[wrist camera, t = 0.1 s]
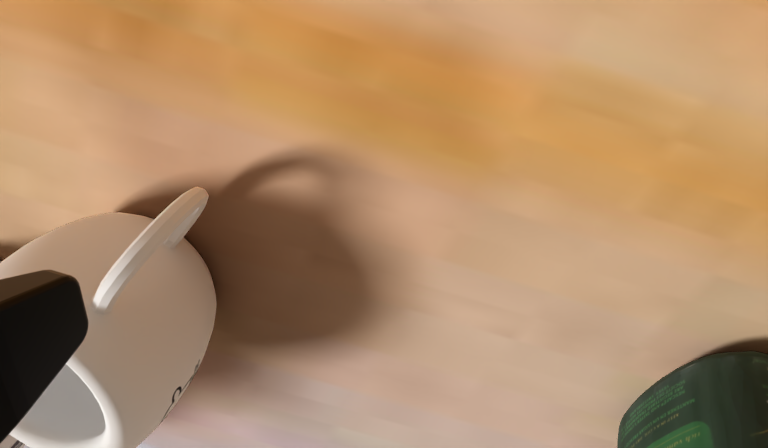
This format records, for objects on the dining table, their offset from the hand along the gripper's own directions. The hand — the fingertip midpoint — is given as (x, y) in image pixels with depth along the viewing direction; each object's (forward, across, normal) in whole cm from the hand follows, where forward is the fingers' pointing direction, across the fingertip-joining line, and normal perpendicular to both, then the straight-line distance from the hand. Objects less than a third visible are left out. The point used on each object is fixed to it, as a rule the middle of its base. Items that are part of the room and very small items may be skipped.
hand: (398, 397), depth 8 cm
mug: (+15, -14, -12) cm, 24 cm away
